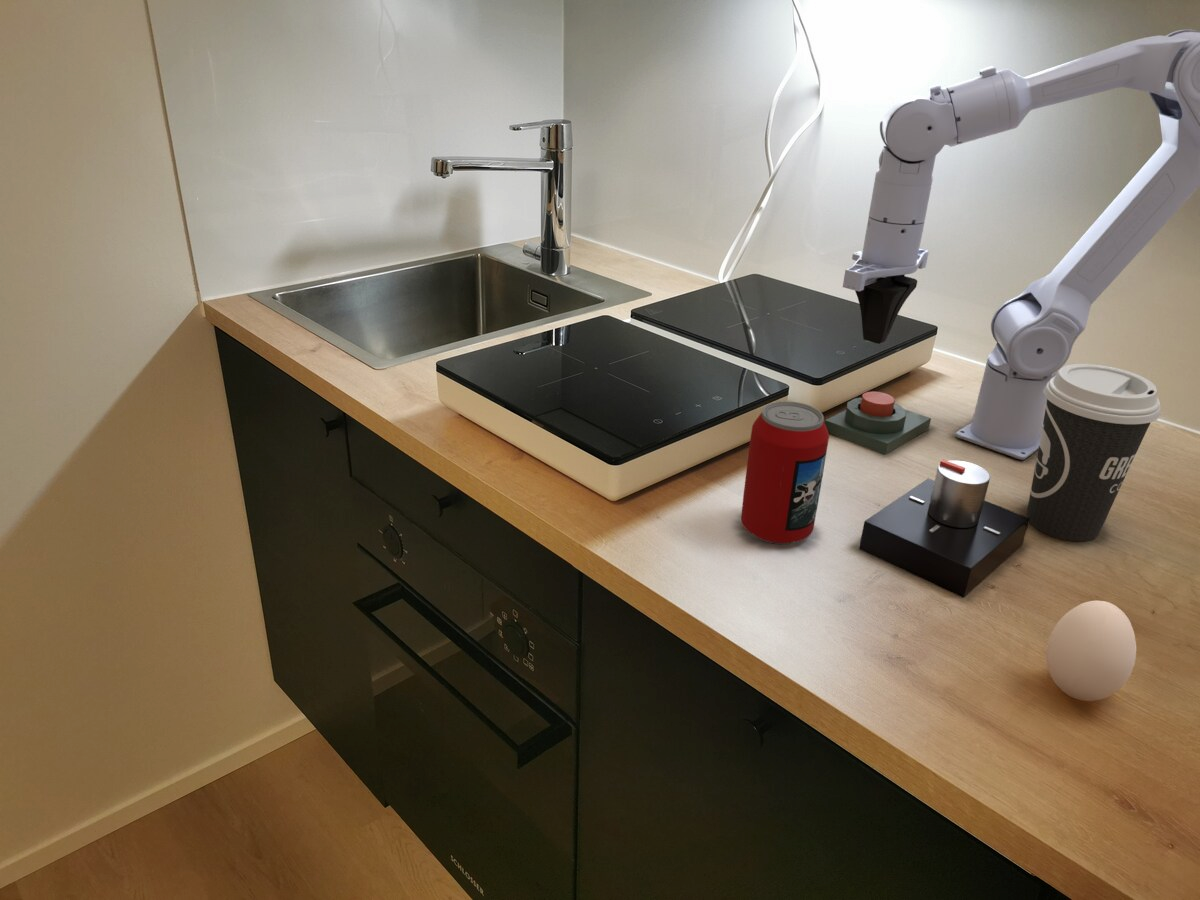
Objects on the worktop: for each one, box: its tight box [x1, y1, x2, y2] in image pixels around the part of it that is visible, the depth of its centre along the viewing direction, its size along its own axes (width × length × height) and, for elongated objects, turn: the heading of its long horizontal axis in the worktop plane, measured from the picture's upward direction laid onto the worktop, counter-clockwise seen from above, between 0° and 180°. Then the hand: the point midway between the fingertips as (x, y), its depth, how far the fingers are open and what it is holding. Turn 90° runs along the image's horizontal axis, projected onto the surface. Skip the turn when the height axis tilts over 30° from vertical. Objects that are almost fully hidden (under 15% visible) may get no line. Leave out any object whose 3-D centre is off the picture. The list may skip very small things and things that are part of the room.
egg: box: [1045, 599, 1137, 702], centre depth 64 cm, size 6×6×8 cm
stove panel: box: [858, 478, 1030, 599], centre depth 82 cm, size 12×10×3 cm
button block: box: [824, 397, 932, 455], centre depth 105 cm, size 10×8×3 cm
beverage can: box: [740, 400, 830, 545], centre depth 82 cm, size 7×7×12 cm
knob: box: [928, 459, 991, 528], centre depth 81 cm, size 4×4×5 cm
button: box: [860, 391, 896, 417], centre depth 103 cm, size 4×4×2 cm
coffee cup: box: [1025, 363, 1162, 542], centre depth 84 cm, size 10×10×15 cm
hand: (874, 340), depth 102 cm, fingers closed
